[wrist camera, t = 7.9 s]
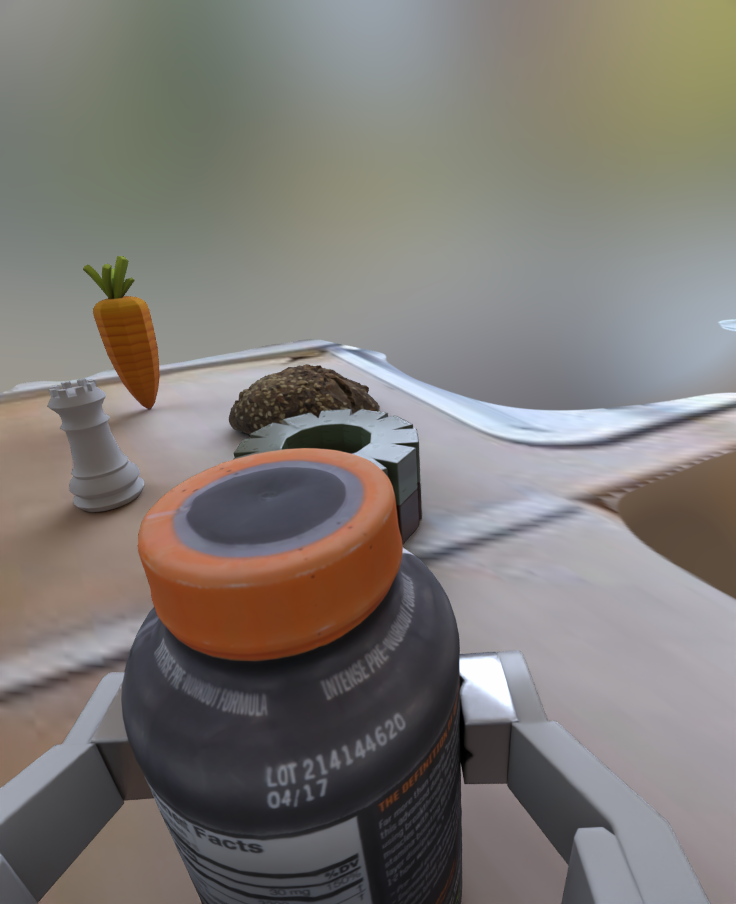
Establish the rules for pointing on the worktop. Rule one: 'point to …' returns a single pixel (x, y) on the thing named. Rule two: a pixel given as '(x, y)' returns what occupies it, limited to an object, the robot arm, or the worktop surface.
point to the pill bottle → (297, 688)
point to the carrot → (127, 332)
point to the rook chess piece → (94, 449)
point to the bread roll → (297, 397)
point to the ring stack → (355, 449)
